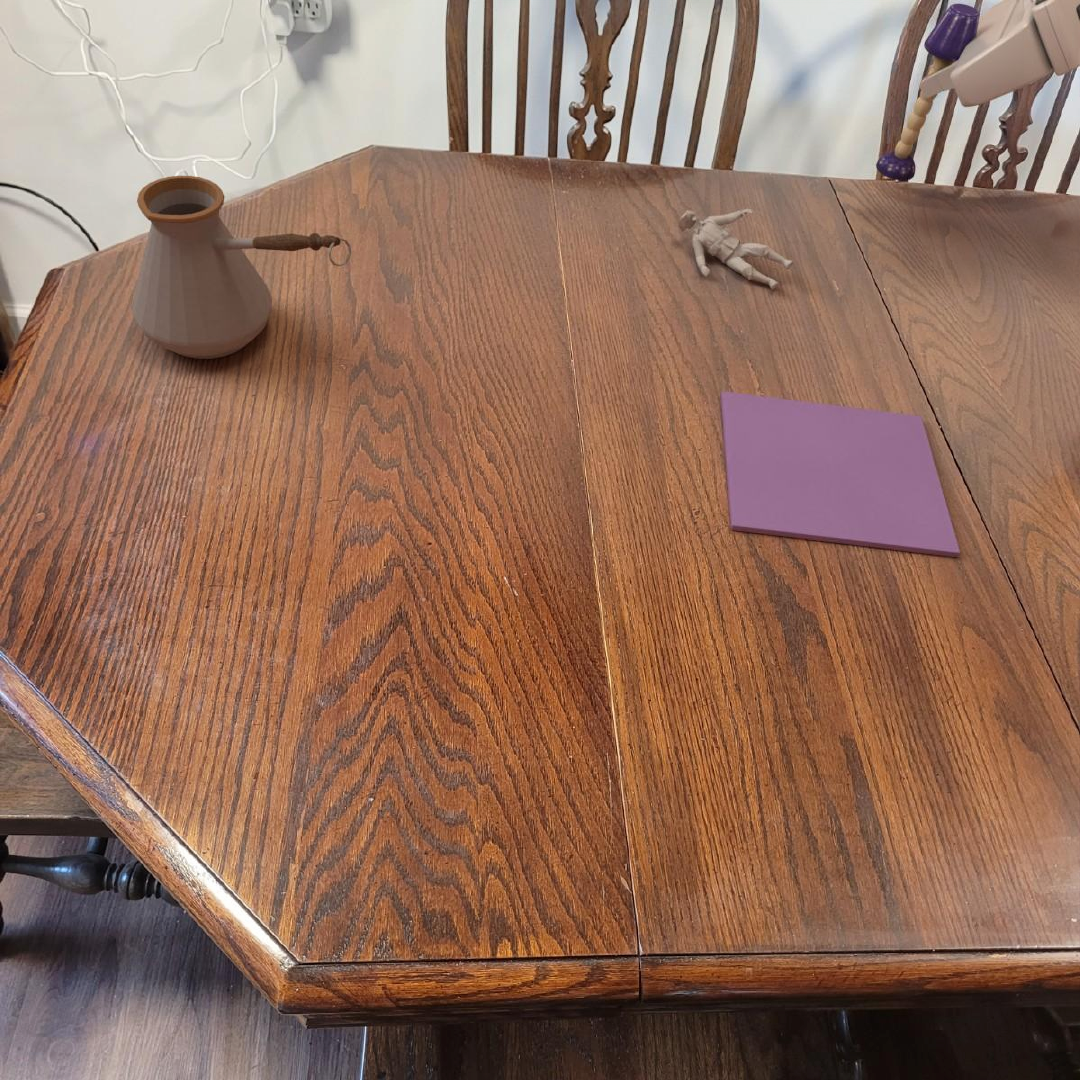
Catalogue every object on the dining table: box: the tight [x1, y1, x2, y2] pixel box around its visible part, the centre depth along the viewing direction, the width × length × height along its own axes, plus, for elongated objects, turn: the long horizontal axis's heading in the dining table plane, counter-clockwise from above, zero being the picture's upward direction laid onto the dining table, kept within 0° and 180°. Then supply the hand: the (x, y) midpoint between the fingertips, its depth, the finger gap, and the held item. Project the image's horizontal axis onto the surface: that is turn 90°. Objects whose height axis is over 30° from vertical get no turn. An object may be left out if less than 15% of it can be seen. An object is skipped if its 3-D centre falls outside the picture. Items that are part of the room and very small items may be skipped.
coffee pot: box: [131, 175, 352, 360], centre depth 76 cm, size 21×12×15 cm, turn 61°
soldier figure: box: [678, 208, 795, 290], centre depth 96 cm, size 8×5×12 cm
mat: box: [720, 390, 961, 558], centre depth 78 cm, size 18×16×1 cm
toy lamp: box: [875, 3, 981, 181], centre depth 96 cm, size 5×5×17 cm
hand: (926, 83), depth 96 cm, fingers closed on toy lamp
